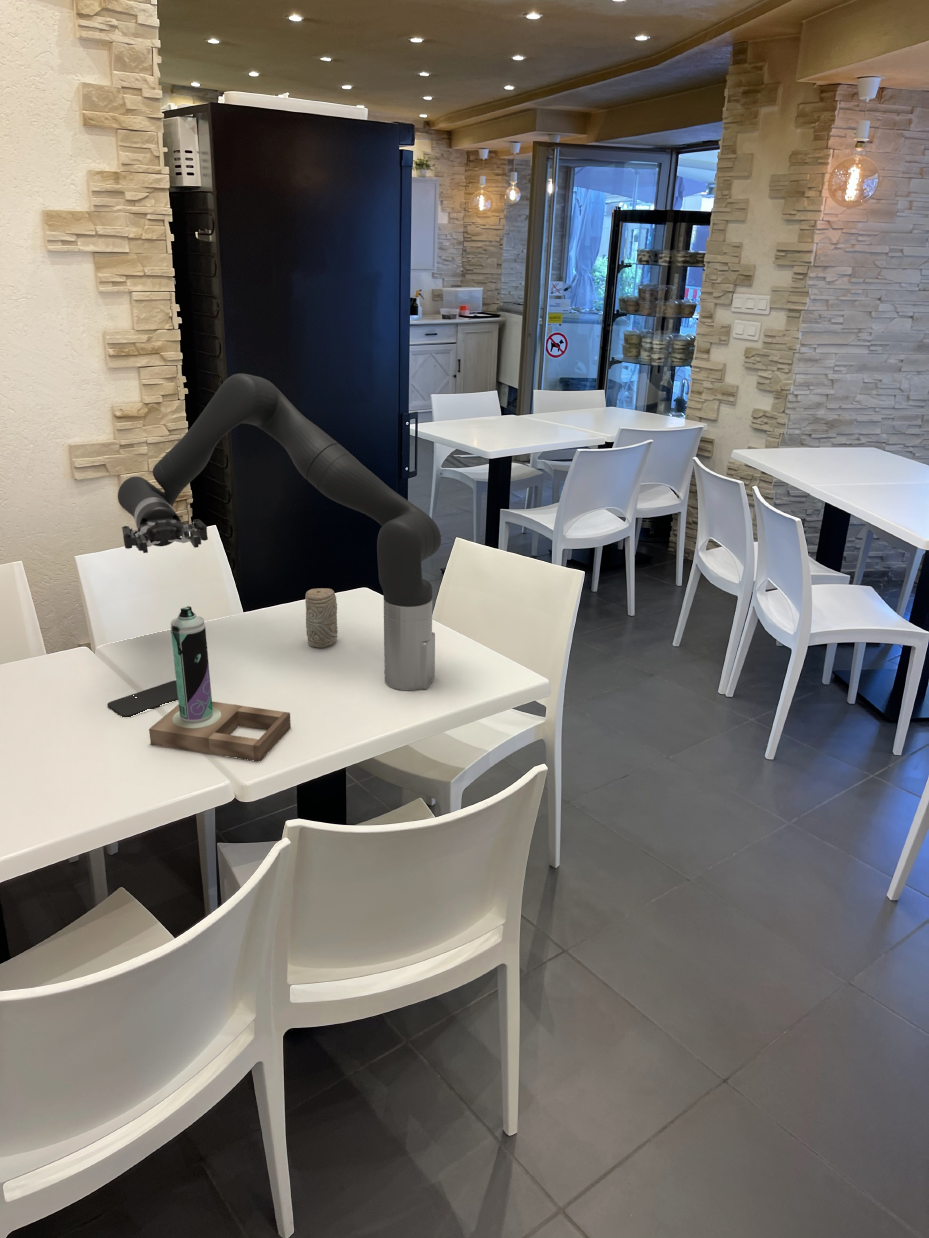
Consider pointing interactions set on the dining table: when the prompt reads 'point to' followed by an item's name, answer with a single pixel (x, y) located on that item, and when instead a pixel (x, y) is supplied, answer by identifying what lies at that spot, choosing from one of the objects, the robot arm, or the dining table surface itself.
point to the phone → (145, 700)
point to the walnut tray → (222, 731)
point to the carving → (321, 617)
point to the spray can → (191, 667)
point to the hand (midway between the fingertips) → (171, 544)
